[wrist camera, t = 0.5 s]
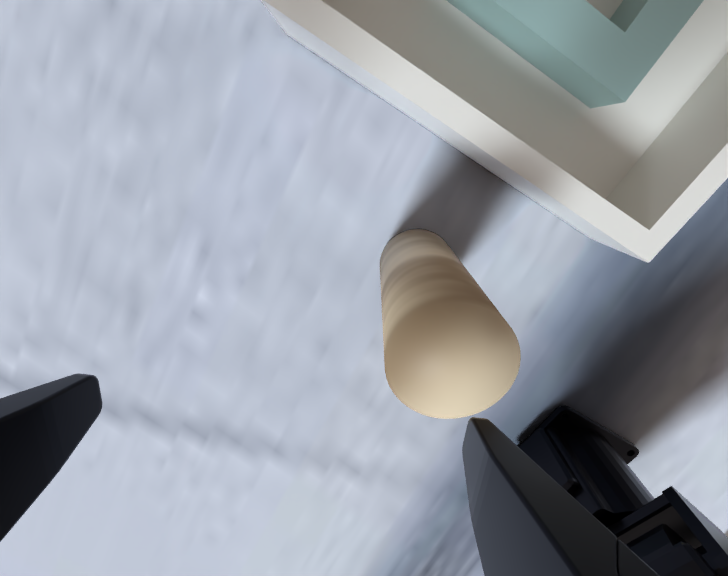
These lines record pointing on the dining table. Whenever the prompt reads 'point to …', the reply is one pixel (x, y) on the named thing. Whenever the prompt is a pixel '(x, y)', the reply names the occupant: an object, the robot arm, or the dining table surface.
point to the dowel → (441, 331)
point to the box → (552, 96)
